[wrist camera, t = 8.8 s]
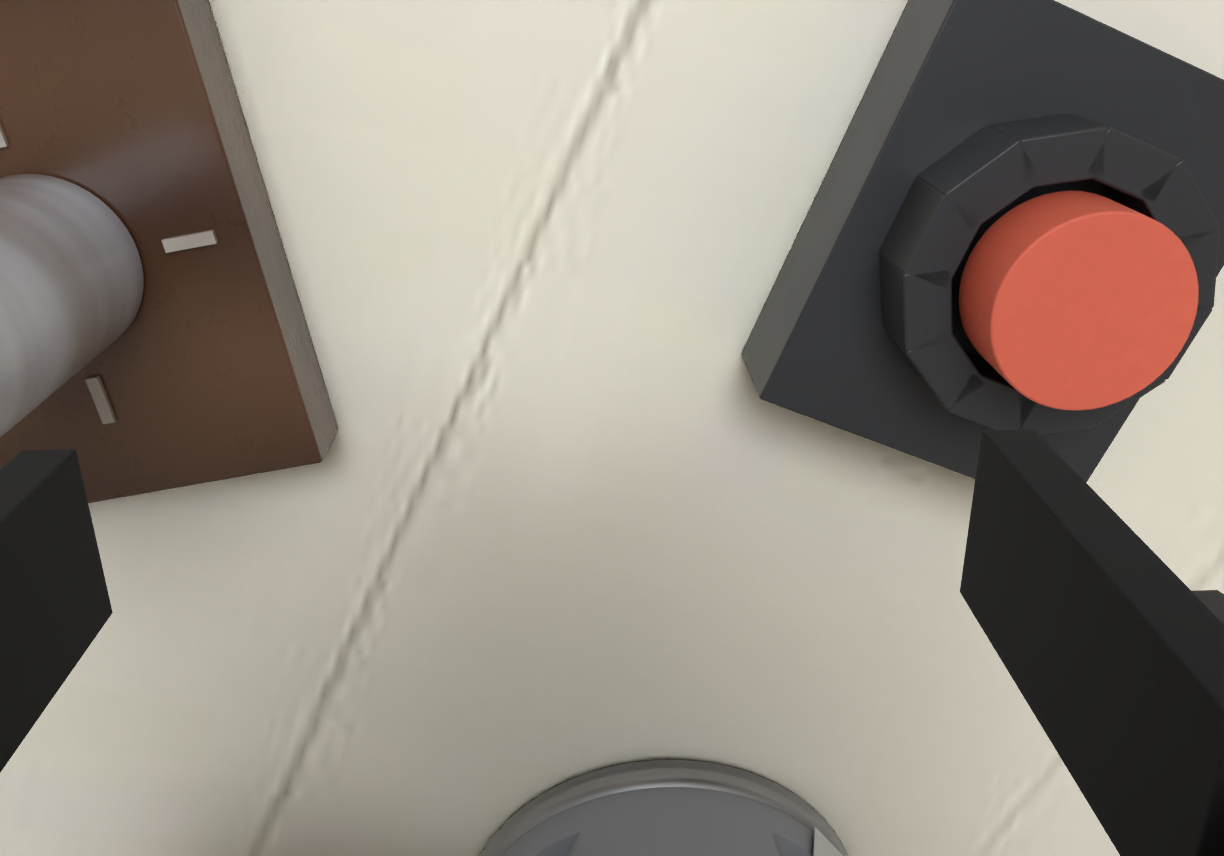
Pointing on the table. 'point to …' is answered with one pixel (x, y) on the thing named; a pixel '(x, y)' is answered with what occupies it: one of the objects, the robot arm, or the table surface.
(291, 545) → the table surface
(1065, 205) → the red push button
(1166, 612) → the robot arm
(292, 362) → the panel
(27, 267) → the dial
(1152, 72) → the button base
